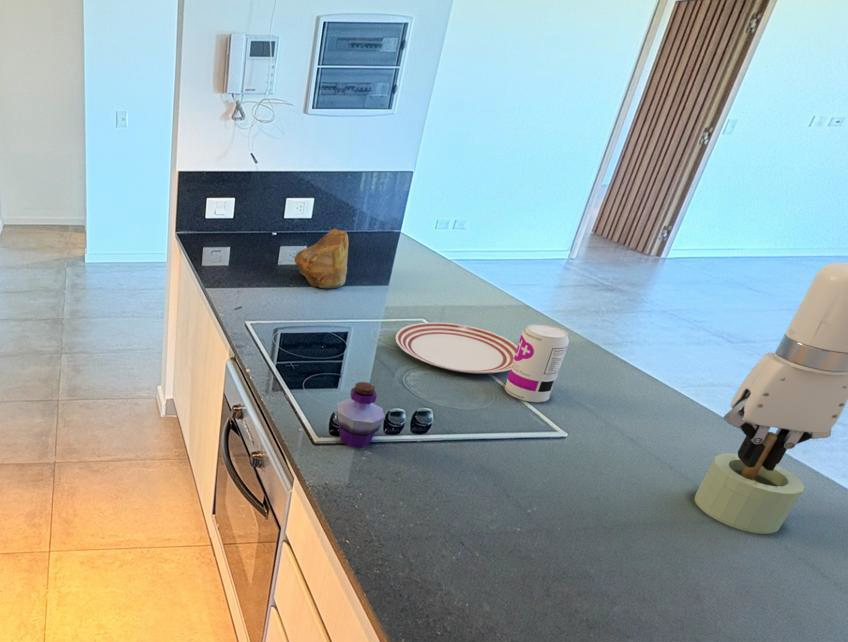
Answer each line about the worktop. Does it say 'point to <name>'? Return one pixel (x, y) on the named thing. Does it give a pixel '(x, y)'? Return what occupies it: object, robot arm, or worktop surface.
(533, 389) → the supplement can
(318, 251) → the rough brown rock
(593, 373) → the worktop surface
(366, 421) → the potion bottle
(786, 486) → the pale green hollow cylinder
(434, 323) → the dinner plate
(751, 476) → the peg with round base
